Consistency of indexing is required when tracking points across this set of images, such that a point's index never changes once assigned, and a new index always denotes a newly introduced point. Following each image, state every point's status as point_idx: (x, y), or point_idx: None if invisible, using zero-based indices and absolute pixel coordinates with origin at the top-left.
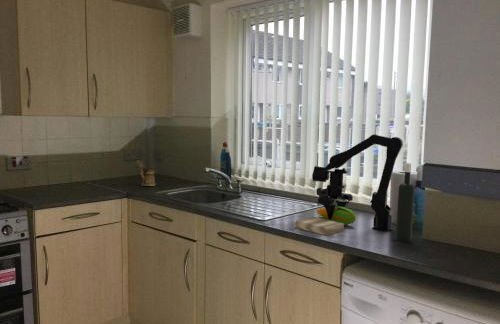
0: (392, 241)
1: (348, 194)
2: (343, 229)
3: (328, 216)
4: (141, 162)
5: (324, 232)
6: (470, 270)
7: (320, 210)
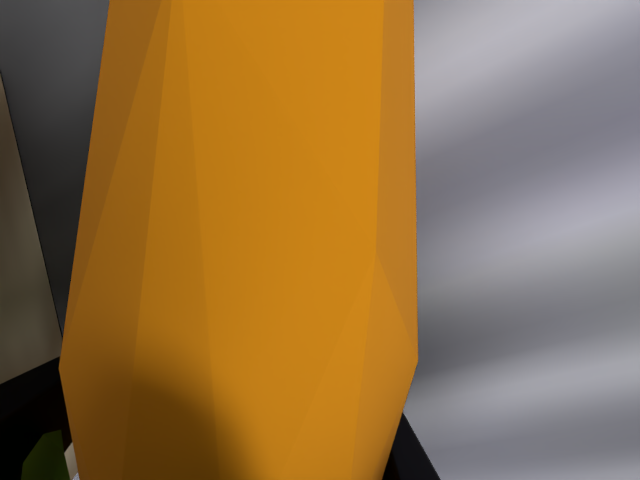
0: None
1: None
2: (75, 468)
3: (48, 372)
4: None
5: None
6: None
7: (105, 37)
